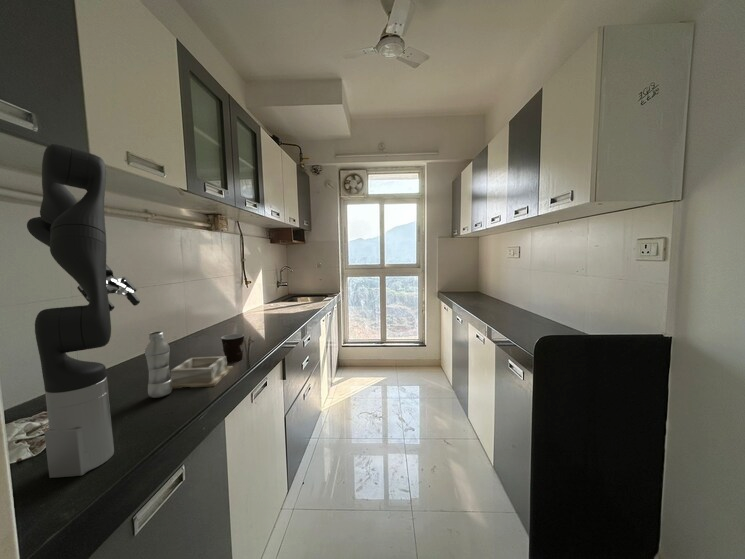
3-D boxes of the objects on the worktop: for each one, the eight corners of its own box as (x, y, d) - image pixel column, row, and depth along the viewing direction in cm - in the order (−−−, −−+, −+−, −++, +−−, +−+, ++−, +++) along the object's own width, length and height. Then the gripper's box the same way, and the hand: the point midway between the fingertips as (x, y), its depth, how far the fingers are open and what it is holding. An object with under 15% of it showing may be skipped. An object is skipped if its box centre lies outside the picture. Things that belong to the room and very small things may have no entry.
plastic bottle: (144, 402, 91) (138, 336, 89) (153, 392, 97) (148, 331, 95) (168, 398, 92) (163, 334, 91) (176, 389, 99) (171, 329, 97)
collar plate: (214, 386, 101) (213, 370, 100) (164, 388, 99) (162, 372, 99) (232, 368, 117) (231, 354, 116) (189, 370, 115) (188, 356, 115)
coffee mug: (235, 355, 132) (234, 332, 132) (249, 357, 129) (248, 334, 128) (211, 364, 122) (209, 339, 121) (226, 367, 118) (224, 342, 117)
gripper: (71, 260, 85) (110, 303, 85) (118, 257, 99) (152, 294, 99) (56, 277, 86) (94, 320, 87) (105, 272, 100) (138, 309, 101)
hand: (125, 306), depth 93 cm, fingers open, 8 cm apart
